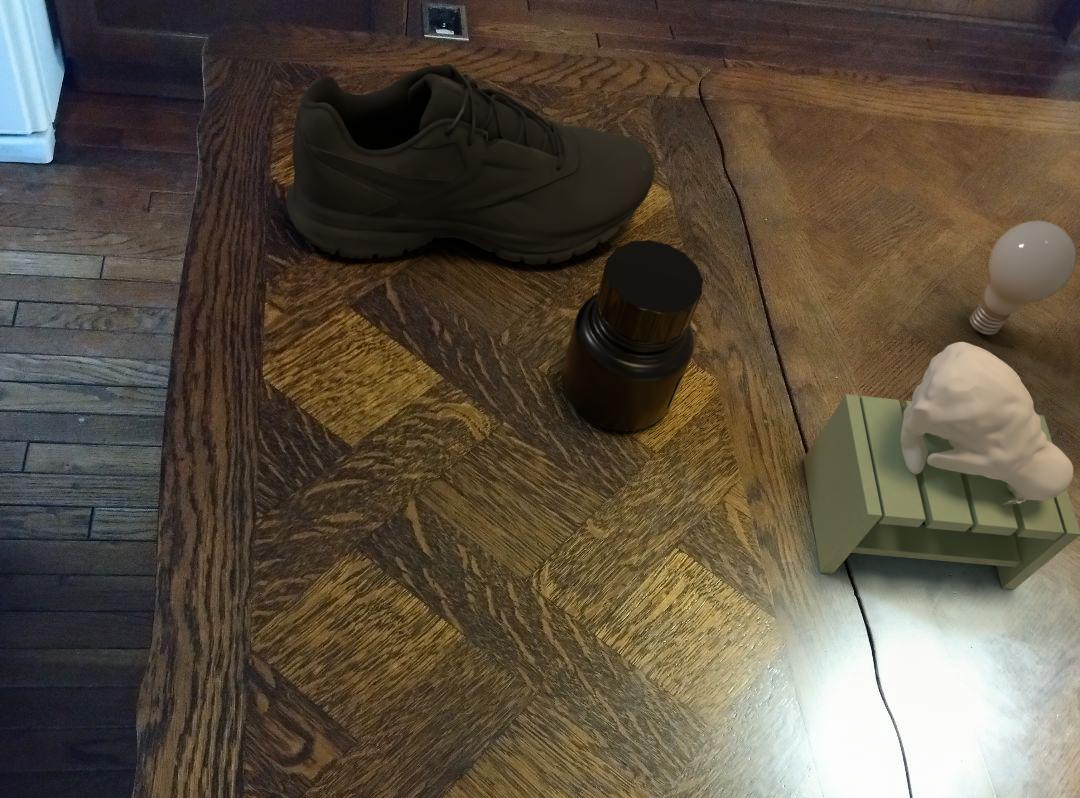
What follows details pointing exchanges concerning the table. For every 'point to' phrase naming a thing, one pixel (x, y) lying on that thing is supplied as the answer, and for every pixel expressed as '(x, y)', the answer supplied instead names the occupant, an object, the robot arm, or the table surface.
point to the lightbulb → (1023, 271)
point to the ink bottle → (633, 337)
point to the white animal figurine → (982, 425)
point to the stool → (921, 501)
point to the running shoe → (455, 172)
